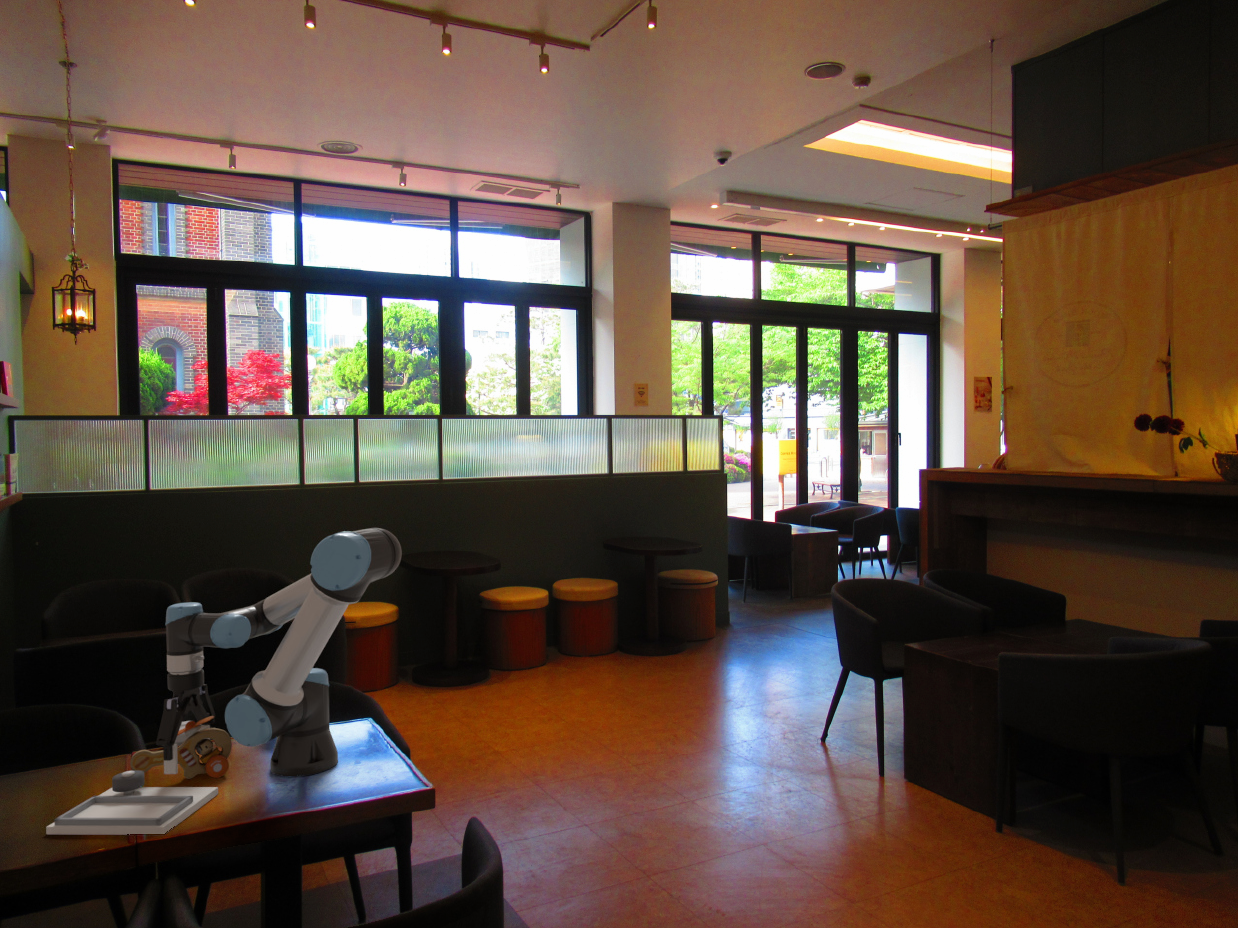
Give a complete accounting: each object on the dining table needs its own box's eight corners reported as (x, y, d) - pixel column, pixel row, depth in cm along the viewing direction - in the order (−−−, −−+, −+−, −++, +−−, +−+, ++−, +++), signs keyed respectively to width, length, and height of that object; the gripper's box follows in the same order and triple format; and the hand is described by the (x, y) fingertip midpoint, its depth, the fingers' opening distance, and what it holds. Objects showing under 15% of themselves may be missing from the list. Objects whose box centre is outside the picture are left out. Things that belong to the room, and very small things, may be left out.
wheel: (150, 781, 185) (150, 767, 185) (133, 791, 179) (132, 777, 179) (124, 781, 185) (123, 767, 185) (106, 791, 179) (105, 777, 179)
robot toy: (157, 741, 224) (162, 753, 212) (157, 724, 224) (161, 734, 212) (208, 732, 231) (216, 743, 218) (207, 715, 231) (215, 725, 219)
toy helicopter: (234, 774, 196) (232, 716, 196) (131, 795, 185) (129, 733, 185) (229, 764, 203) (228, 707, 203) (130, 783, 192) (128, 723, 192)
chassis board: (218, 793, 185) (217, 780, 185) (164, 834, 165) (163, 819, 165) (112, 793, 186) (112, 780, 186) (46, 834, 166) (46, 819, 166)
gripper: (169, 684, 182) (172, 783, 182) (229, 657, 206) (231, 744, 207) (136, 685, 182) (138, 783, 182) (199, 657, 207) (201, 744, 207)
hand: (188, 762), depth 194 cm, fingers open, 13 cm apart
